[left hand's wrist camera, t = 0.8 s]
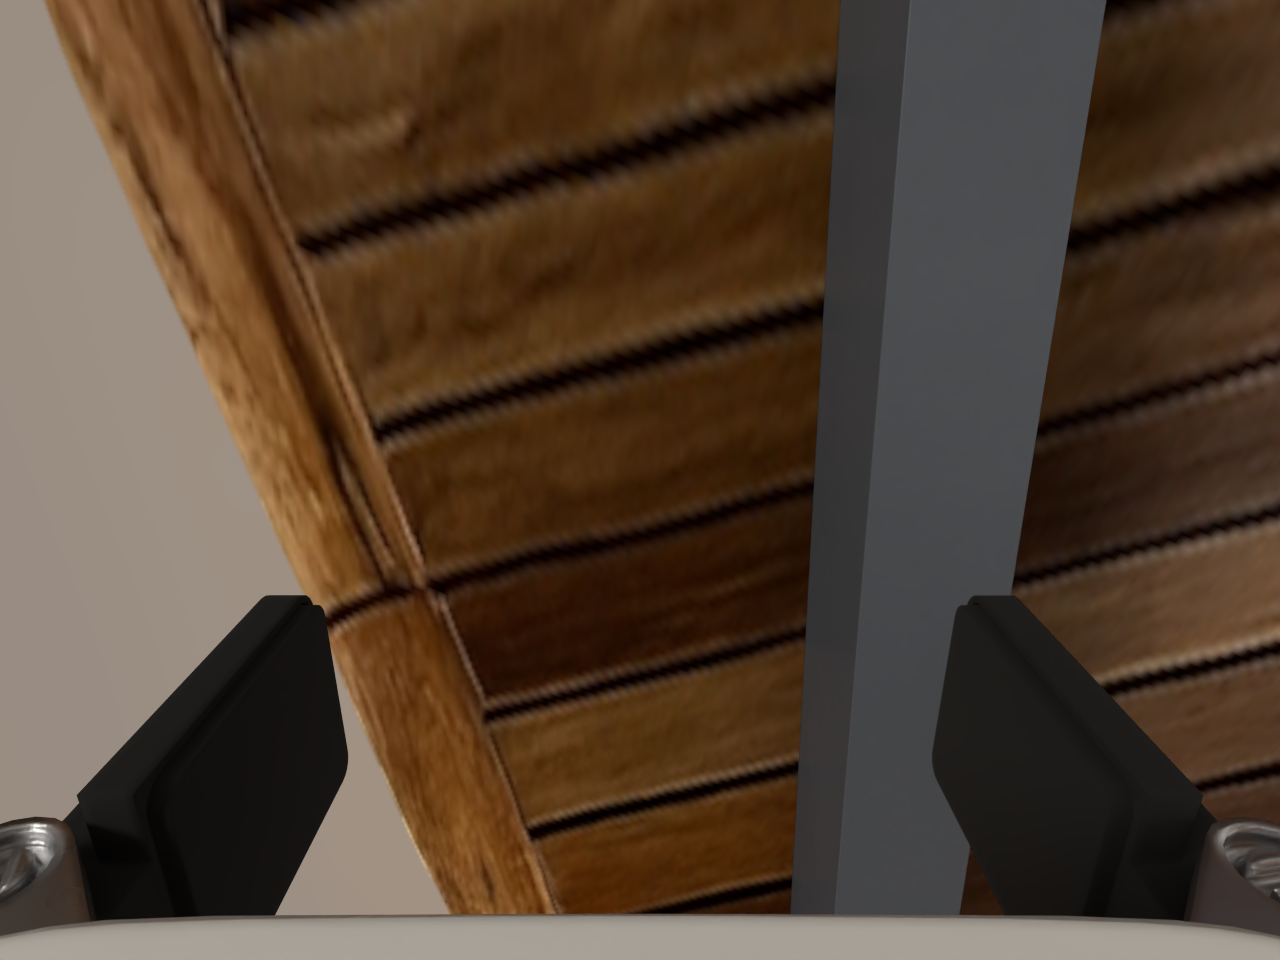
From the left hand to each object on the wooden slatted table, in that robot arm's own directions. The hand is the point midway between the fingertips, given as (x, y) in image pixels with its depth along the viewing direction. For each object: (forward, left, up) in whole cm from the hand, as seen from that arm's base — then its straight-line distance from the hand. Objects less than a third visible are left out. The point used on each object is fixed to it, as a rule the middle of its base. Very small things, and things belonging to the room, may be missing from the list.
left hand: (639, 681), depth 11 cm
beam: (+19, +11, -25) cm, 34 cm away
